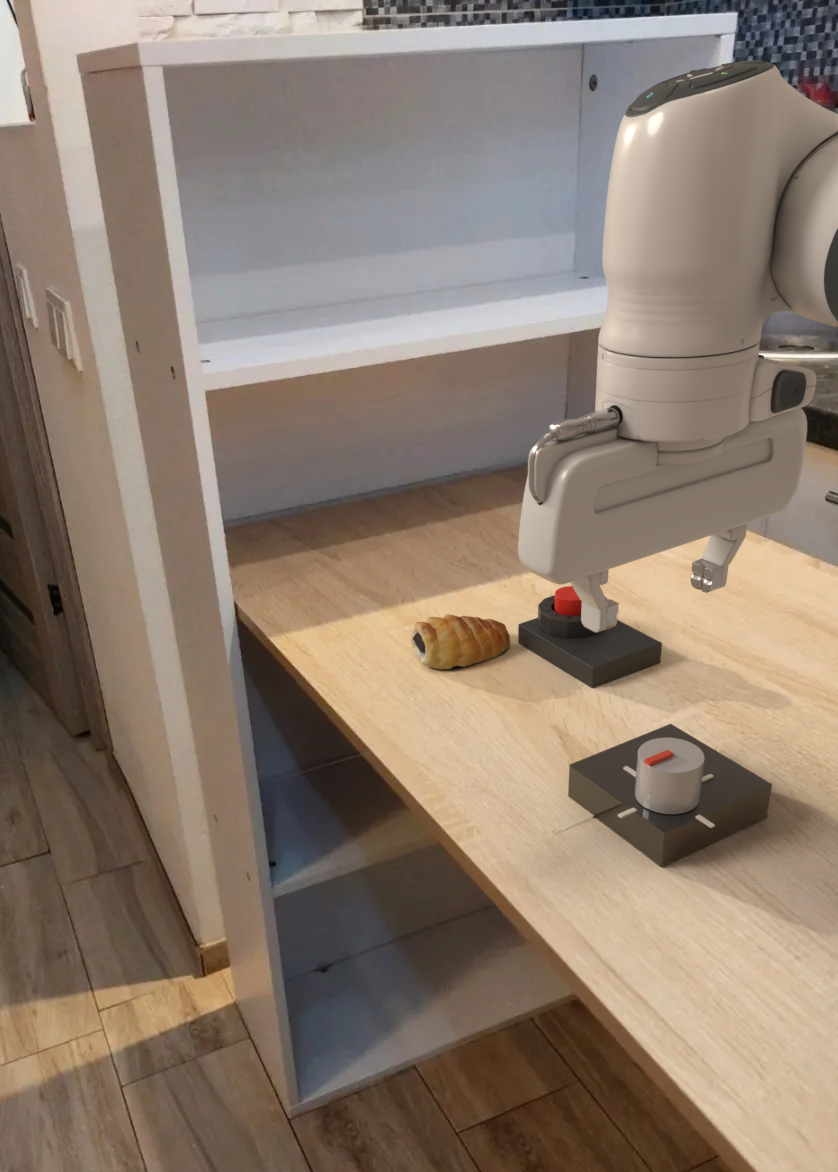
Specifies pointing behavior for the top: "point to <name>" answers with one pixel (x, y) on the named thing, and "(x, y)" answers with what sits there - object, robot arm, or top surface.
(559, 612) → the button
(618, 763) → the hob console
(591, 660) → the box
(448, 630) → the pastry
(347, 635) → the top surface
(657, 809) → the hob knob
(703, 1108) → the top surface
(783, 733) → the top surface
